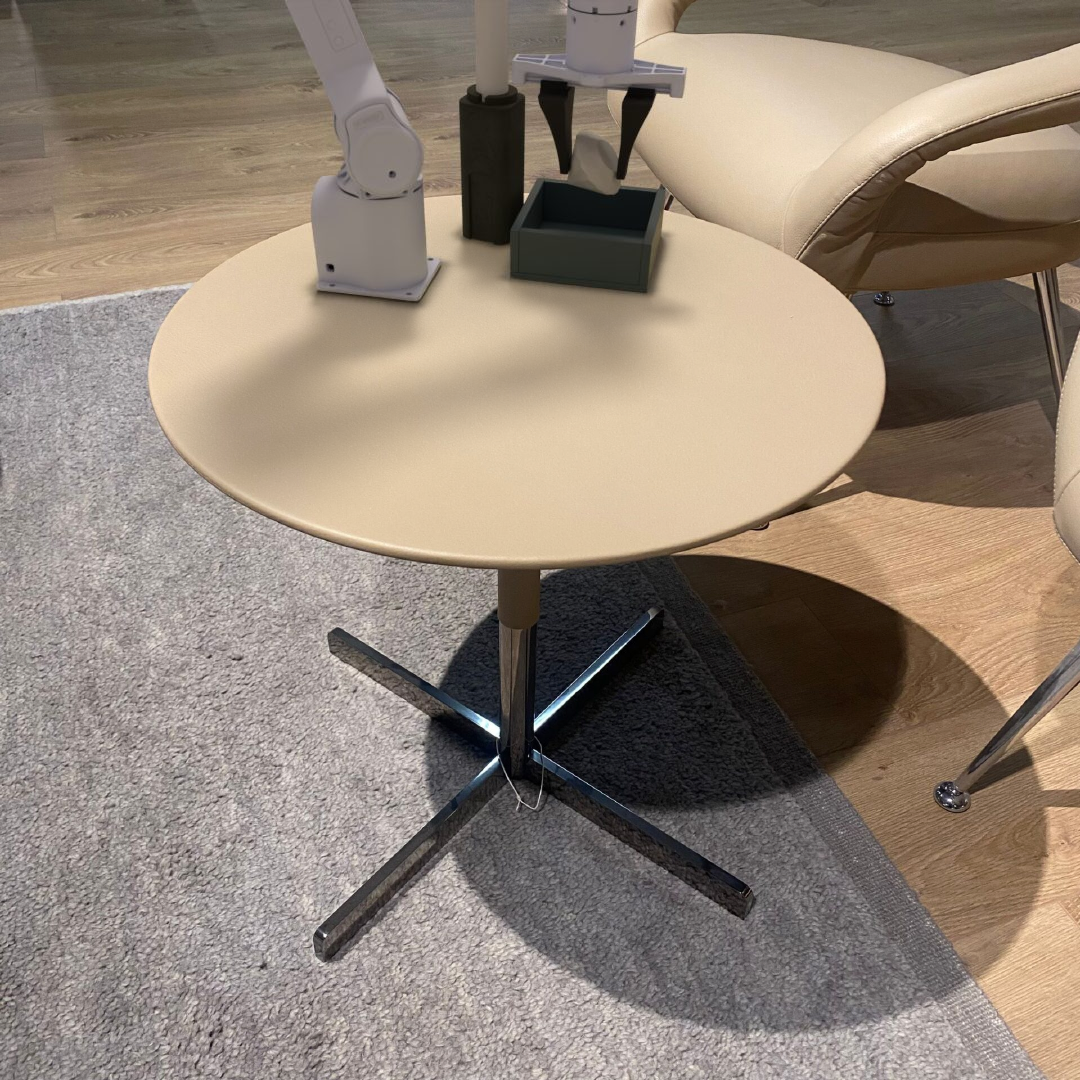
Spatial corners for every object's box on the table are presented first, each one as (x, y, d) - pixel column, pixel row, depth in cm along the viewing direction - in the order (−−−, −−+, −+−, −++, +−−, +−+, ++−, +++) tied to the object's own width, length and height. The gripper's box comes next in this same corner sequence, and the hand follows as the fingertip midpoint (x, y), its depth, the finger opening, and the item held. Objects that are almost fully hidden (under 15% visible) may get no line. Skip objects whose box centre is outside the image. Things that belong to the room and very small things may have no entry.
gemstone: (554, 139, 93) (595, 110, 90) (594, 192, 96) (636, 165, 93) (535, 173, 90) (578, 144, 86) (578, 227, 92) (621, 201, 89)
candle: (527, 227, 102) (532, -59, 85) (505, 247, 98) (505, -48, 82) (481, 217, 103) (477, -66, 87) (458, 236, 100) (449, -55, 83)
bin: (509, 278, 93) (510, 230, 90) (536, 222, 103) (537, 177, 100) (647, 293, 92) (651, 244, 89) (661, 235, 101) (665, 189, 98)
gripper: (504, 11, 80) (504, 181, 89) (688, 25, 78) (669, 198, 87) (522, -10, 86) (520, 153, 94) (695, 3, 84) (677, 168, 92)
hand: (593, 173), depth 91 cm, fingers closed on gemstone, 4 cm apart
